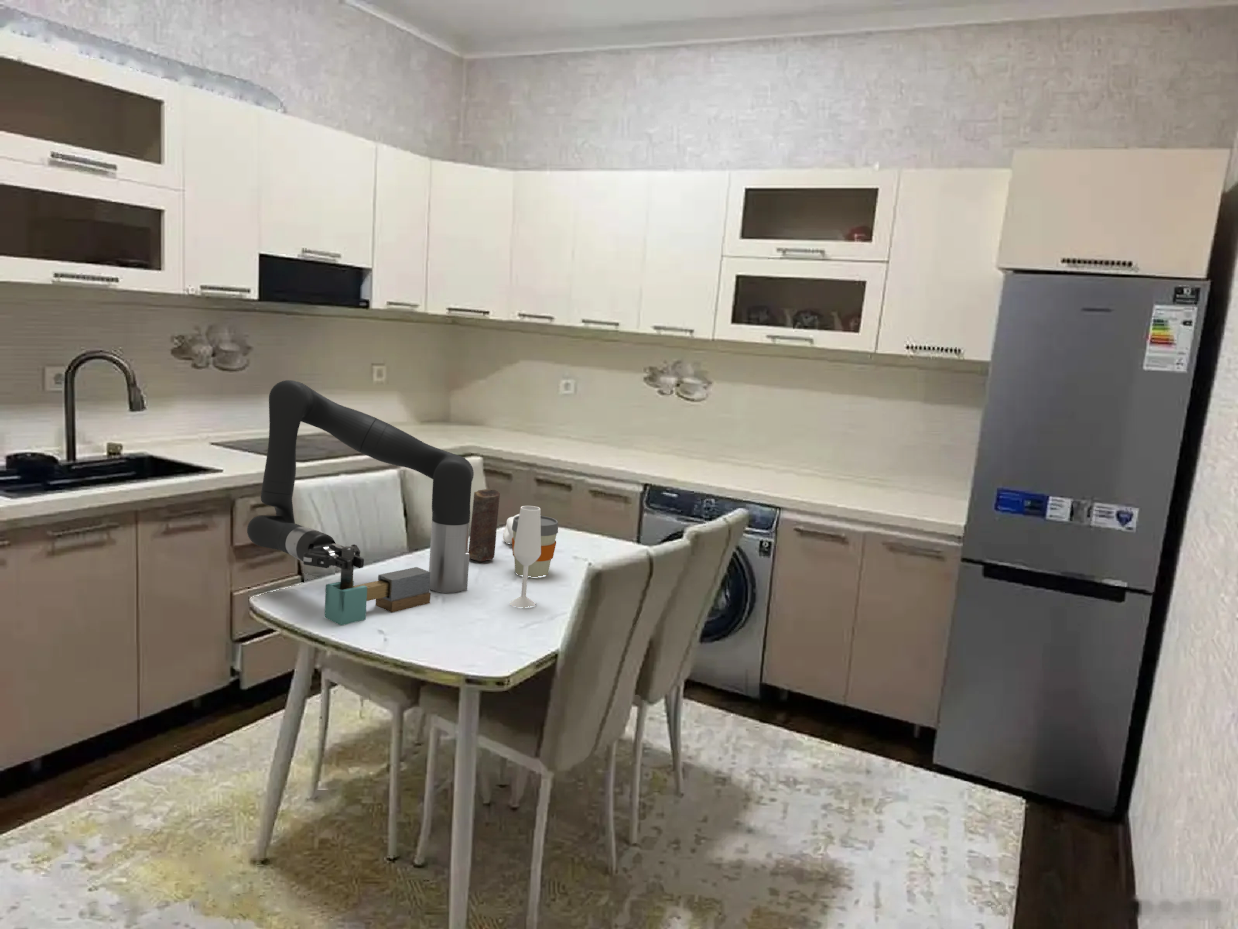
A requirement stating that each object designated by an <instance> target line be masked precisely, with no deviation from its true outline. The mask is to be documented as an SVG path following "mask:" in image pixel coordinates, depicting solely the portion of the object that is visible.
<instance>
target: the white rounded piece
mask: <svg viewBox="0 0 1238 929" xmlns="http://www.w3.org/2000/svg"><path fill="white" fill-rule="evenodd" d="M519 515H520V513H518V514H515V515H514V516H510V517H508V518H507V519H506V525H505V527H504V529H503V533H502V540H503V541H505V542H506V543H505V542H504V543H505V544H507V543H510V544H509V545H512V538H513V530H512V525H513V519H514V517H516V516H519Z"/></svg>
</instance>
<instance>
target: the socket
mask: <svg viewBox="0 0 1238 929" xmlns="http://www.w3.org/2000/svg"><path fill="white" fill-rule="evenodd" d="M354 582H355V581H354V580H353V586H355V584H354ZM324 597H325V598H324V599H325V600H324V601H325V602H324V618H325V619H327V620H329V621H330V622H333V623H335V624H338V625H339V626H344V625H348V624H353V623H356V622H361V621H364V620H366V619H367V602H368V601H367V586H364V585H363V586H359V587H354V588H349V589H344V590H340V581H337V582H332V583H326V584H325V596H324Z"/></svg>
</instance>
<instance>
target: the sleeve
mask: <svg viewBox="0 0 1238 929" xmlns="http://www.w3.org/2000/svg"><path fill="white" fill-rule="evenodd" d="M377 578H378V579H377V581H379V580H386V581H388V582H390V595H389V596H387V597H383V598H378V599H375V607H379V609H380V608H381V609H383V610H384V611H386V612H389V613H391V614H392V613H395V612H401V611H404V610H409V609H412V608H416V607H420V606H423V605H428V604H431V596H432V595H431V592H430V589H429V588H430V572H429V570H426V569H423V568H421V567H418V566H415V567H410V568H405V569H401V570H396V571H391V572H386V573H381V574H378V576H377Z"/></svg>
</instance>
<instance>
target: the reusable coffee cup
mask: <svg viewBox="0 0 1238 929" xmlns="http://www.w3.org/2000/svg"><path fill="white" fill-rule="evenodd" d="M513 517H514V516H513ZM518 520H519V516H516V517H514V519H513V525H512V530H513V538H512V544H511V546H512V547H511V548H512V552H513V549H514V543H515V538H516V532H517V526H518ZM558 533H559V521H558V520H557V519H556V518H553V517H550V516H545V515H541V555H540V557H539V558H538V559H537V560H536V561H535V562H534V563H533V564H531V565H529V566H528V576H531V577H538V576H543V575H547V574H548V575H549V572H550V568H551V567H550V566H551V562H552V560H553V559H554V555H555V550H556V546H557V540H556V538H557V535H558ZM512 556H513V558H514V573H515V572H516V573H517V574H518V575H523V567H524V566H523V565H522V564H521V563H520V562H519V561H518V560H517V559H516V558H515V556H514V554H513V553H512ZM518 575H517V576H518ZM548 575H547V576H548Z"/></svg>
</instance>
